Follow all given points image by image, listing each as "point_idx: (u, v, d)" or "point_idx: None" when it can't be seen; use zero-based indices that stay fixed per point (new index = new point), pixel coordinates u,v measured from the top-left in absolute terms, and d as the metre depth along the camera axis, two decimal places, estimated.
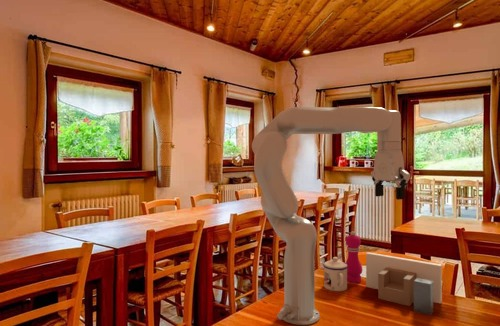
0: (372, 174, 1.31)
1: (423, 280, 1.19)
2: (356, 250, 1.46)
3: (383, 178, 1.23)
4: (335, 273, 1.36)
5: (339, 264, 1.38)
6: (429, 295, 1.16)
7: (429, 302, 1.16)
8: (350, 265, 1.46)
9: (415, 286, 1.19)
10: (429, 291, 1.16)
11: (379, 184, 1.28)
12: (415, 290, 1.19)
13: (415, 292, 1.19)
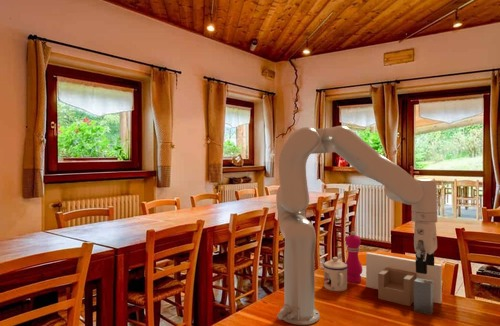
0: (420, 251, 1.12)
1: (423, 280, 1.19)
2: (356, 250, 1.46)
3: (434, 249, 1.17)
4: (335, 273, 1.36)
5: (339, 264, 1.38)
6: (429, 295, 1.16)
7: (429, 302, 1.16)
8: (350, 265, 1.46)
9: (415, 286, 1.19)
10: (429, 291, 1.16)
11: None
12: (415, 290, 1.19)
13: (415, 292, 1.19)
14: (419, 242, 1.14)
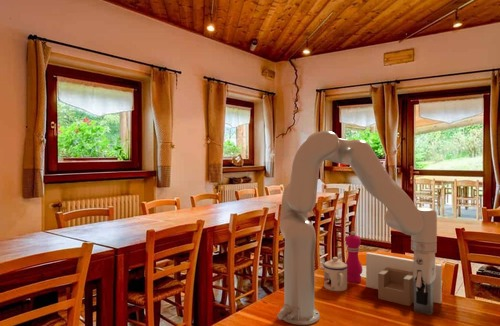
0: (421, 285, 1.14)
1: None
2: (356, 250, 1.46)
3: (433, 279, 1.17)
4: (335, 273, 1.36)
5: (339, 264, 1.38)
6: (429, 295, 1.16)
7: (429, 302, 1.16)
8: (350, 265, 1.46)
9: (415, 286, 1.19)
10: (429, 291, 1.16)
11: None
12: (415, 290, 1.19)
13: (415, 292, 1.19)
14: (418, 275, 1.15)
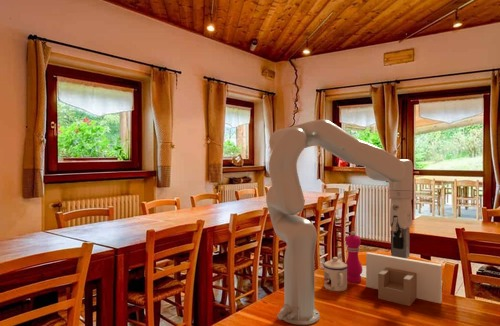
0: (396, 229, 1.22)
1: None
2: (356, 250, 1.46)
3: (409, 225, 1.25)
4: (335, 273, 1.36)
5: (339, 264, 1.38)
6: (405, 240, 1.24)
7: (405, 246, 1.24)
8: (350, 265, 1.46)
9: (392, 232, 1.27)
10: (405, 236, 1.24)
11: None
12: None
13: (392, 238, 1.27)
14: (394, 220, 1.23)
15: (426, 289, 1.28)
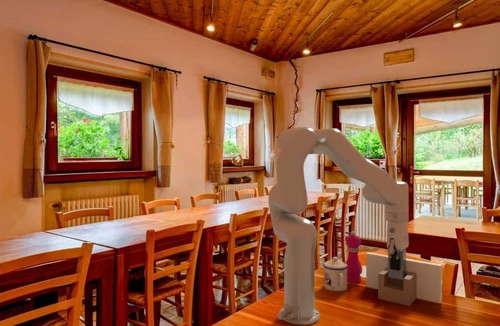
0: (393, 252, 1.24)
1: None
2: (356, 250, 1.46)
3: (405, 247, 1.27)
4: (335, 273, 1.36)
5: (339, 264, 1.38)
6: (401, 261, 1.26)
7: (401, 268, 1.26)
8: (350, 265, 1.46)
9: (389, 254, 1.29)
10: (401, 257, 1.26)
11: None
12: (389, 257, 1.29)
13: (389, 259, 1.29)
14: (391, 242, 1.25)
15: (426, 289, 1.28)
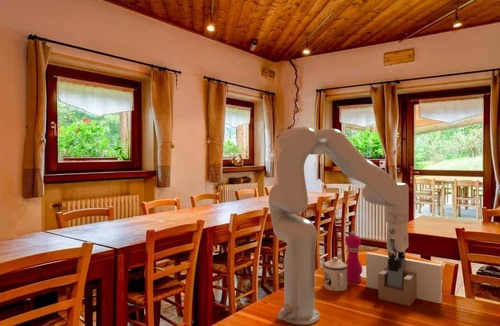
0: (392, 251, 1.23)
1: None
2: (356, 250, 1.46)
3: (405, 248, 1.27)
4: (335, 273, 1.36)
5: (339, 264, 1.38)
6: (401, 271, 1.26)
7: (401, 277, 1.26)
8: (350, 265, 1.46)
9: None
10: (401, 267, 1.26)
11: None
12: None
13: None
14: (391, 242, 1.25)
15: (426, 289, 1.28)
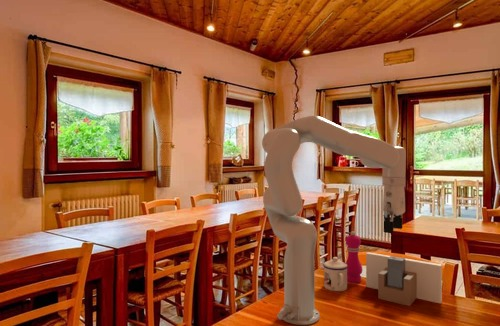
0: (387, 211, 1.22)
1: (396, 258, 1.29)
2: (356, 250, 1.46)
3: (401, 212, 1.27)
4: (335, 273, 1.36)
5: (339, 264, 1.38)
6: (401, 271, 1.26)
7: (401, 277, 1.26)
8: (350, 265, 1.46)
9: (389, 263, 1.29)
10: (401, 267, 1.26)
11: None
12: (389, 267, 1.29)
13: (389, 269, 1.29)
14: (387, 204, 1.24)
15: (426, 289, 1.28)
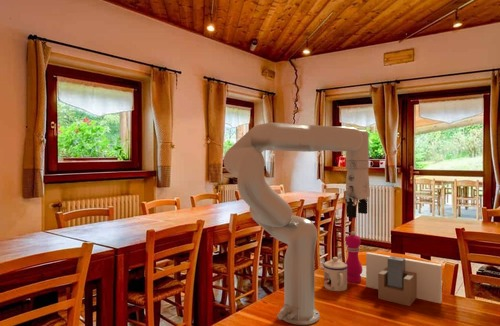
0: (349, 195, 1.20)
1: (396, 258, 1.29)
2: (356, 250, 1.46)
3: (365, 196, 1.24)
4: (335, 273, 1.36)
5: (339, 264, 1.38)
6: (401, 271, 1.26)
7: (401, 277, 1.26)
8: (350, 265, 1.46)
9: (389, 263, 1.29)
10: (401, 267, 1.26)
11: None
12: (389, 267, 1.29)
13: (389, 269, 1.29)
14: (349, 188, 1.22)
15: (426, 289, 1.28)
